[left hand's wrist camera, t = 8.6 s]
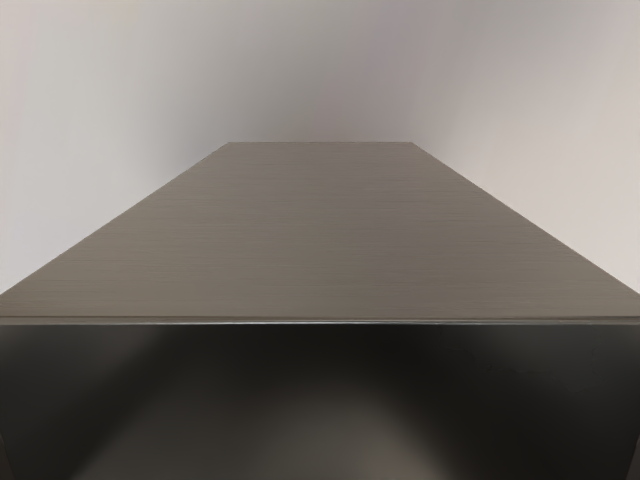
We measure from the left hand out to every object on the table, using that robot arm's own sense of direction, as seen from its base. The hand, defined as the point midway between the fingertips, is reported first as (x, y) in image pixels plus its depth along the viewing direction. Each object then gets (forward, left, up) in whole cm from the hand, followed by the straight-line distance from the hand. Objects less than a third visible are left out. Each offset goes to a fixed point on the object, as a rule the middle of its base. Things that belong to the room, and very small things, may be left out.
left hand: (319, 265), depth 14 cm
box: (+8, +5, -2) cm, 9 cm away
